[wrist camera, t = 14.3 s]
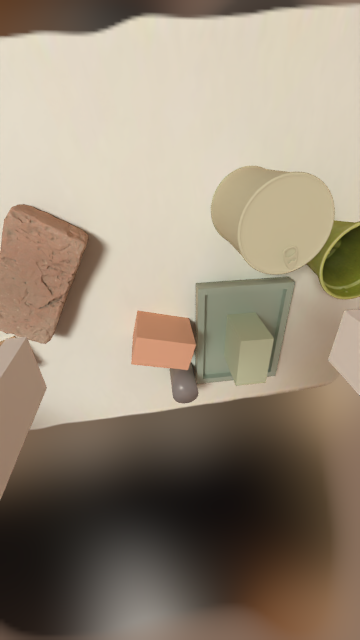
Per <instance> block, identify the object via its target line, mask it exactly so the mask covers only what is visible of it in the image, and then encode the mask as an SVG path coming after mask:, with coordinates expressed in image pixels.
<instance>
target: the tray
mask: <svg viewBox="0 0 360 640" xmlns="http://www.w3.org/2000/svg"><path fill="white" fill-rule="evenodd" d="M294 284H295V282H294V281H293V280H292V279H291V278H290V277H278V278H264V279H250V280H235V281H221V282H207V283H196V342H195V343H196V347H195V376H196V381H197V384H201V383H210V382H220V381H230V380H233V377H232V375H231V372H230V370H229V367H228V364H227V362H226V359H225V357H224V349H225V335H226V322H227V315H229V314H241V313H254V312H256V314H257V315H258V316H259V318H260V319H261V321H262V322H263V324H264V325H265V326H266V328H267V329H268V331H269V332H270V334H271V335H272V336H273V338H274V341H273V346H272V352H271V357H270V362H269V367H268V373H267V377H269V376H275V375H276V370H277V365H278V360H279V356H280V351H281V346H282V341H283V337H284V332H285V327H286V322H287V318H288V313H289V308H290V303H291V299H292V294H293V289H294Z"/></svg>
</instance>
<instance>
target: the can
mask: <svg viewBox="0 0 360 640" xmlns="http://www.w3.org/2000/svg"><path fill="white" fill-rule="evenodd" d="M334 215H335V208H334V201H333V198H332V195H331V193H330V190H329V189H328V187H327V186H326V185H325V184H324V182H323V181H321V180H320V179H319V178H317V177H316V176H314V175H311V174H309V173H304V172H284V171H275V170H268V169H264V168H262V167H258V166H246V167H242V168H239V169H237V170H235V171H233V172H231V173H230V174H229V175H227V176H226V177H225V178H224V179H223V180H222V182H221V183H220V184H219V186H218V187H217V189H216V191H215V194H214V196H213V200H212V205H211V216H212V221H213V224H214V226H215V228H216V230H217V232H218V233H219V234H220V235H221V236H222V237H223V238H224V239H226V240H227V241H229V242H230V243H231V244H232V245H233V247H234V248H235V249H236V250H237V251H238V252H239V253H240V254H241V255H242V256H243V258H244V260H245V261H246V262H247V263H248V264H249V265H250V266H251V267H252V268H254V269H255V270H257V271H259V272H262V273H265V274H272V275H277V274H285V273H289V272H292V271H294V270H297V269H299V268H300V267H302V266H304V265H305V264H307V263H308V262H309V261H311V260H312V259H313V258H314V257H315V256H316V255H317V254H318V253H319V251H320V250H321V249H322V247H323V246H324V244H325V243H326V241H327V239H328V237H329V235H330V233H331V230H332V227H333V223H334Z"/></svg>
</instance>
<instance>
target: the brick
mask: <svg viewBox="0 0 360 640" xmlns="http://www.w3.org/2000/svg"><path fill="white" fill-rule="evenodd" d="M88 238H89V237H88V235H87V234H86V233H85V232H84V231H83V230H81V229H79V228H78V227H76V226H73V225H71V224H69V223H67V222H65V221H63V220H60V219H57V218H55V217H54V216H52V215H51V214H49V213H47V212H44V211H40V210H37V209H36V208H34V207H32V206H27V205H25V204H23V205H17V206H14V207H12V208H11V209H10V211H9V213H8V214H7V216H6V218H5V219H4V225H3V232H2V243H1V251H0V331H3V332H5V333H6V334H8V333H12V334H15V335H16V336H19V337H27V339H29V340H32V341H36V342H39V343H44V344H46V343H47V342H48V341H50V340H51V338H52V335H53V334H54V331H55V329H56V326H57V324H58V321H59V318H60V315H61V312H62V309H63V306H64V304H65V301H66V298H67V294H68V291H69V289H70V287H71V285H72V282H73V280H74V278H75V275H76V272H77V269H78V267H79V264H80V261H81V258H82V255H83V252H84V250H85V248H86V245H87V242H88Z"/></svg>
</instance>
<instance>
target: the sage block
mask: <svg viewBox="0 0 360 640" xmlns="http://www.w3.org/2000/svg"><path fill="white" fill-rule="evenodd" d="M273 341H274V338H273V336H272V335H271V334H270V332H269V331H268V329H267V328H266V326H265V325H264V324H263V322H262V321H261V319H260V318H259V316H258V315H257V314H256V312H254V313H241V314H229V315H227V322H226V335H225V349H224V357H225V359H226V362H227V364H228V367H229V370H230V372H231V375H232V377H233V380H234V382H235V385H236V386H238V385H248V384H257V383H266V378H267V373H268V367H269V362H270V357H271V352H272V346H273Z"/></svg>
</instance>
